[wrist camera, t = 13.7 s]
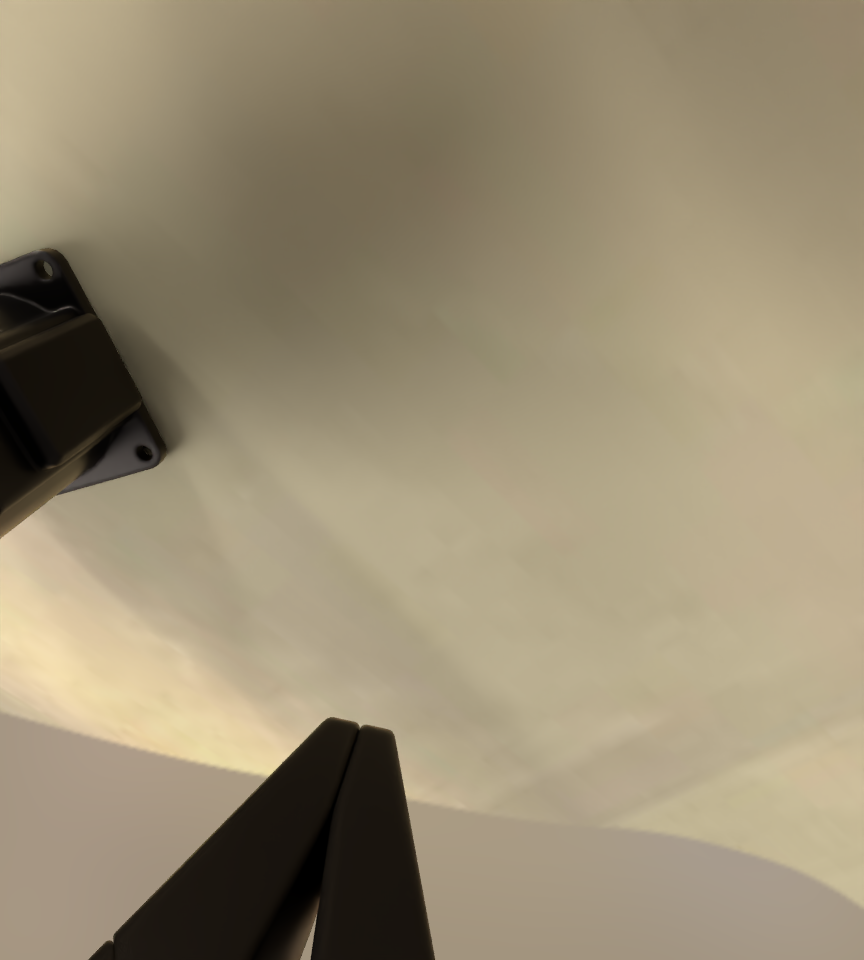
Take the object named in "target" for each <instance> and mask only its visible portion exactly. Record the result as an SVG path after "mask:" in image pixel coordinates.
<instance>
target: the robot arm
mask: <svg viewBox="0 0 864 960" xmlns="http://www.w3.org/2000/svg"><path fill="white" fill-rule="evenodd" d="M44 261H45V262H47V263H48V264H49V265H50V266H51V268H52V271H53V274H52V276H50V275H49V274H48V273H47V272H46V271H45V269H44ZM143 446H146V447H148V448H149V449H150V450H151V451H152V455H149V454H147V453H146V452H145V451H144V450H143ZM166 453H167V449H166V446H165V443H164V441H163V439H162V438H161V436H160V434H159V432H158V430H157V428H156V426H155V424H154V423H153V421H152V419H151V417H150V415H149V413H148V411H147V409H146V408H145V406H144V404H143V402H142V397H141V395H140V393H139V391H138V389H137V388H136V386H135V384H134V382H133V380H132V378H131V376H130V374H129V373H128V371H127V369H126V367H125V365H124V363H123V361H122V359H121V358H120V356H119V354H118V352H117V350H116V348H115V346H114V344H113V342H112V341H111V339H110V337H109V335H108V333H107V331H106V329H105V327H104V326H103V324H102V322H101V320H100V319H99V318H98V317H97V316H96V314H95V312H94V310H93V308H92V306H91V304H90V302H89V301H88V299H87V297H86V295H85V293H84V291H83V289H82V287H81V286H80V284H79V282H78V280H77V278H76V276H75V274H74V272H73V271H72V269H71V267H70V265H69V263H68V261H67V260H66V259H65V257H64V256H63V255H62V254H61V253H59V252H58V251H57V250H54V249H51V248H46V249H40V250H37V251H33V252H31V253H28V254H26V255H23V256H21V257H18V258H16V259H13V260H11V261H8V262H6V263H3V264H1V265H0V538H2V537H3V536H4V535H5V534H7V533H8V532H9V531H11V530H12V529H13V528H14V527H16V526H17V525H18V524H20V523H21V522H22V521H23V520H25V519H26V518H27V517H29V516H30V515H31V514H32V513H34V512H35V511H36V510H38V509H39V508H40V507H41V506H43V505H44V504H45V503H47V502H48V501H49V500H50V499H52V498H53V497H54V496H56V495H60V494H63V493H67V492H70V491H74V490H77V489H81V488H84V487H88V486H91V485H95V484H98V483H102V482H105V481H109V480H113V479H116V478H120V477H123V476H127V475H130V474H134V473H137V472H141V471H144V470H148V469H151V468H154V467H155V466H157V465H158V464H159V463H160V462H162V461H163V460H164V458H165V457H166ZM316 914H317V919H316V927H315V933H314V940H313V947H312V954H311V960H435V956H434V951H433V945H432V940H431V934H430V929H429V923H428V918H427V912H426V906H425V901H424V895H423V890H422V885H421V879H420V873H419V868H418V863H417V857H416V851H415V846H414V841H413V835H412V829H411V824H410V818H409V813H408V807H407V802H406V796H405V791H404V785H403V780H402V774H401V769H400V763H399V758H398V752H397V747H396V741H395V736H394V734H393V732H392V731H391V730H388V729H384V728H379V727H375V726H370V725H363V726H362V727H361V728H360V727H359V725H358V724H357V723H356V722H352V721H348V720H344V719H339V718H335V717H330V718H327V719H326V720H325V721H323V722H322V723H321V724H320V725H319V726H318V727H317V728H316V729H315V730H314V731H313V733H312V734H311V735H310V736H309V737H308V738H307V739H306V740H305V741H304V742H303V743H302V744H301V745H300V746H299V747H298V748H297V749H296V750H295V751H294V752H293V753H292V754H291V755H290V756H289V757H288V758H287V759H286V760H285V761H284V762H283V763H282V764H281V765H280V766H279V767H278V768H277V769H276V770H275V771H274V772H273V773H272V774H271V775H270V776H269V777H268V778H267V779H266V780H265V781H264V782H263V783H262V784H261V785H260V786H259V787H258V788H257V789H256V791H254V792H253V793H252V794H251V795H250V797H248V799H247V800H246V801H245V802H244V803H243V804H242V805H241V806H240V807H239V808H238V809H237V810H236V811H235V812H234V813H233V814H232V815H231V816H230V817H229V818H228V819H227V820H226V821H225V822H224V823H223V824H222V825H221V826H220V827H219V828H218V829H217V830H216V831H215V832H214V833H213V834H212V835H211V836H210V837H209V838H208V839H207V840H206V841H205V842H204V843H203V844H202V845H201V846H200V847H199V848H198V849H197V850H196V851H195V852H194V853H193V855H191V857H189V859H187V861H185V863H184V864H183V865H182V866H181V867H180V868H179V869H178V870H177V871H176V872H175V873H174V874H173V875H172V876H171V877H170V878H169V879H168V880H167V881H166V882H165V883H164V884H163V885H162V886H161V887H160V888H159V889H158V890H157V891H156V892H155V893H154V894H153V895H152V896H151V897H150V898H149V899H148V900H147V901H146V902H145V903H144V904H143V905H142V906H141V907H140V908H139V909H138V910H137V911H136V912H135V913H134V914H133V915H132V916H131V917H130V918H129V919H128V920H127V922H125V923H124V924H123V925H122V926H121V927H120V929H119V930H118V931H117V932H116V933H115V934H114V936H113V941H114V944H113V942H112V941H106V942H105V943H104V944H103V946H101V947H100V948H99V949H98V950H97V951H96V952H95V954H93V955H92V956H91V957H90V959H89V960H300V958H301V956H302V953H303V950H304V948H305V945H306V942H307V940H308V937H309V934H310V932H311V929H312V926H313V923H314V920H315V917H316Z"/></svg>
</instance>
